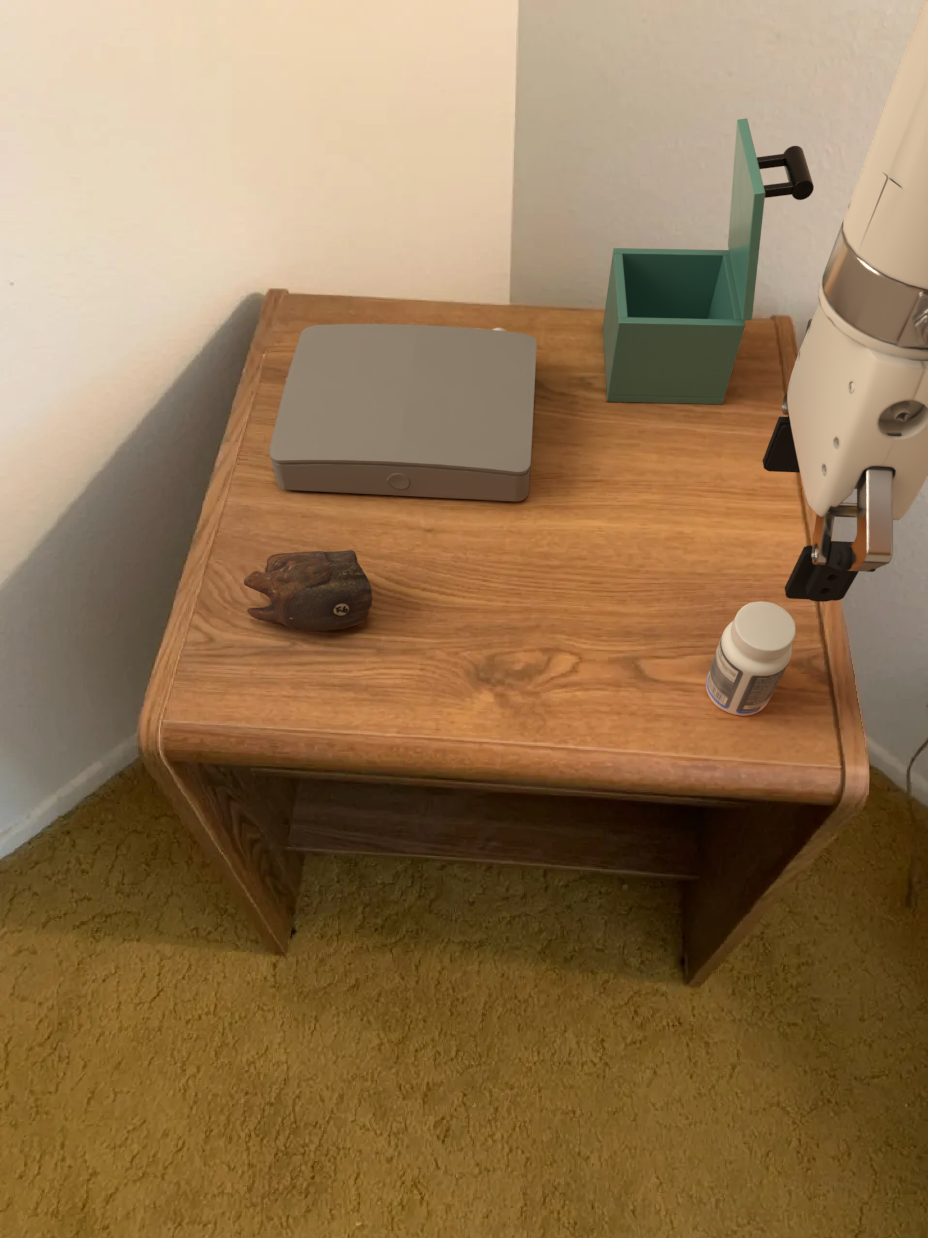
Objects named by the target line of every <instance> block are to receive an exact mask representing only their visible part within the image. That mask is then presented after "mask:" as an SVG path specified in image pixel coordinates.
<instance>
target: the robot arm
mask: <svg viewBox="0 0 928 1238" xmlns="http://www.w3.org/2000/svg"><path fill="white" fill-rule="evenodd" d="M817 298H818V302H819V303H818V306H817V308H816V310H815V313H814V314H813V317H812V318H810V319H808V321H807V325H806V330H805V335H804V338H803V341H802V343H801V346H800V348H799V350H798V353H797V357H796V358H795V362H794V364H793V369H792V371H791V374H790V378H789V382H788V386H787V393H785V394H784V396H783V400H782V403H781V404H782V405H781V412H782V414H783V415H785V416H778V418H777V422H776V424H775V426H774V429H773V431H772V434H771V437H770V439H769V443H768V445H767V448H766V450H765V453H764V456H763V458H762V466H763V469H764V471H765V470H766V471H767V472H773V473H774V472H775V473H776V472H777V473H797V474H800V478H801V482H802V487H803V491H804V495H805V499H806V502H807V504H808V506H809V507H810V509H811V510H812V511H813V512H814V513H815V514H816V516H815V524H814V530H813V538H812V545H806V546H803V548H802V550H801V552H800V555H799V556H798V558H797V561H796V563H795V565H794V566H793V569H792V571H791V574H790V575H789V577H788V579H787V582H786V584H785V586H784V594H785V597H786V598H787V599H789V600H790V599H792V600H809V601H812V602H822V603H824V602H826V603H827V602H832V601H835V602H836V601H840V600H842V599H844V598H845V597H846V596H847V593H848V590H849V589H850V588H851V586H852V585H853V583H854V581H855V580H856V578H857V575H858V574H859V572H864V573H865V572H866V573H874V572H876V570H877V569H880V568H882V567H884V566H886V565H889V564H890V563H891V562H892V560H893V555H894V521H900V520H901V519H903V518H904V517H905V516H906V514H907V513H908V512H909V510H910V509H911V508H912V507H913V506H912V505H913V504H914V502H915V501H916V499H917V497H918V495H919V493H920V492H921V490H922V489H923V486H924V484H925V482H926V480H927V478H928V0H923V1H922V3H921V6H920V8H919V12H918V13H917V17H916V19H915V22H914V25H913V27H912V30H911V33H910V36H909V38H908V40H907V44H906V47H905V50H904V52H903V55H902V57H901V61H900V63H899V66H898V68H897V71H896V74H895V76H894V79H893V82H892V85H891V88H890V91H889V93H888V95H887V98H886V102H885V104H884V107H883V110H882V113H881V115H880V118H879V120H878V124H877V125H876V128H875V131H874V134H873V137H872V139H871V143H870V145H869V148H868V151H867V153H866V156H865V158H864V162H863V164H862V167H861V170H860V172H859V175H858V178H857V180H856V183H855V185H854V188H853V192H852V195H851V198H850V200H849V203H848V205H847V208H846V210H845V213H844V217H843V220H842V222H841V225H840V227H839V231H838V233H837V235H836V239H835V241H834V244H833V247H832V250H831V251H830V255H829V258H828V260H827V263H826V266H825V268H824V271H823V274H822V276H821V279H820V281H819V284H818V290H817ZM854 490H856V502H845V501H846V500H847V499H848V498H849V497H850V496H851V495H852V494H853V492H854ZM835 518H856V536H855V538H854V541H844V540H843V541H841V540H839V541H838V540H832V538H833V531H834V524H835Z"/></svg>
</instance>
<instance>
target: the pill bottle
mask: <svg viewBox="0 0 928 1238" xmlns="http://www.w3.org/2000/svg"><path fill="white" fill-rule="evenodd" d="M796 633H797V626H796V623H795V621H794V618H793V616H792V614H790V613H789V612H788V611H787V610H786V609H785V608H783V607H782V606H780V605H778V604H776V603H773V602H770V601H763V600H761V601H760V600H759V601H752V602H749V603H746V604H745V605H743V606H742V607H741V608H740V609H739V610H738V611H737V612H736V615H735V616H734V619H733V620H732V621H731V622H730V623H729V624H728V625H726V627H725V628H724V630H723V631H722V634H721V637H720V640H719V642H718V645H717V647H716V650H715V652H714V655H713V658H712V661H711V663H710V666H709V669H708V672H707V673H706V678H705V691H706V693H707V696H708V698H709V699H710V700H711V702H712V703H713V704H714V706H716V707H717V708H719V709H720V710H722V711H724V712H726V713H728V714H731V715H734V716H743V717H745V716H752V715H755V714H757V713H759V712H760V711H762V710H763V709H764V708H765V707H766V706H767V705H768V703H770V700H771V698H772V696H773V694H774V692H775V691H776V688H777V686H778V684H779V682H780V681H781V679H782V677H783V674H784V673H785V671H786V669H787V667H788V665H789V663H790V661H791V660H792V659H791V658H792V656H793V655H792V654H793V643H794V640H795V637H796Z"/></svg>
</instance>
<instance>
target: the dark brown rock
mask: <svg viewBox="0 0 928 1238" xmlns="http://www.w3.org/2000/svg"><path fill="white" fill-rule="evenodd" d="M358 561H359V560H358V556H357V554H356V552H355V551H354V550H352V549H348V550H339V551H324V550H318V551H317V550H315V551H296V552H283V553H275V554H272V555H270V556H269V557H267V559H266V565H265V568H264V571H258V570H253V571H252V572H251V573H250V574H249V575H248V576H246V577H245V578H244V579H243V584H244V586H246V587H247V588H249V589H252V590H254V591H256V592H259V593H261V594H263V595H265V596H266V597H267V598H269V601H270V603H271V604H269V605H267V606H261V607H250V608H248V609H247V610H246V611H247V614H248V615H249V616H250V617H252V618H254V619H256V620H258V621H262V622H268V623H274V624H282V625H284V626H286V627H288V628H289V629H294V630H298V631H307V632H326V631H327V632H328V631H335V630H344V629H347V628H350V627H353V626H356V625H359V624H362V623H363V622H365V620H366V619H367V617H368V615H369V612H370V608H371V606H372V603H373V594H372V593H373V592H372V587H371V582H370V581H369V579H368V576H367V574H366V573H365V572H364V570H363V568H362V566H361V565H360V563H359V562H358Z"/></svg>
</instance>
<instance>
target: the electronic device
mask: <svg viewBox="0 0 928 1238" xmlns="http://www.w3.org/2000/svg"><path fill="white" fill-rule="evenodd" d="M298 338H299V339H298V341H297V344H296V347H295V350H294V353H293V356H292V360H291V363H290V366H289V369H288V373H287V375H286V379H285V383H284V387H283V392H282V395H281V398H280V402H279V406H278V410H277V414H276V419H275V423H274V427H273V431H272V436H271V440H270V445H269V449H268V450H269V451H268V452H269V456H270V461H271V465H272V469H273V472H274V476H275V480H276V483H277V486H278V487H279V488H280V489H282V490H284V491H285V490H286V491H302V492H303V491H305V492H306V491H307V492H322V493H323V492H325V493H340V494H341V493H343V494H364V495H385V496H403V497H420V498H421V497H423V498H442V499H459V500H460V499H463V500H481V501H502V502H521V501H523V500H525V499H526V498H527V497H528V496H529V494H530V477H531V463H532V461H531V460H532V446H533V426H534V406H535V403H534V402H535V388H536V387H535V386H536V368H537V366H536V365H537V345H538V344H537V343H538V342H537V339H536V337H534V336H533V335H530V334H528V333H524V332H523V333H522V332H514V331H508V330H506V329H505V328H503V327H495V328H493V329H487V328H486V329H485V328H481V327H480V328H479V327H476V328H473V327H463V326H462V327H461V326H460V327H459V326H447V325H446V326H445V325H428V324H410V323H409V324H403V323H401V324H400V323H335V324H333V323H332V324H314V325H310V326H307V327H306V328H304V329H303V330H301V332H300V335H299V337H298Z"/></svg>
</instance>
